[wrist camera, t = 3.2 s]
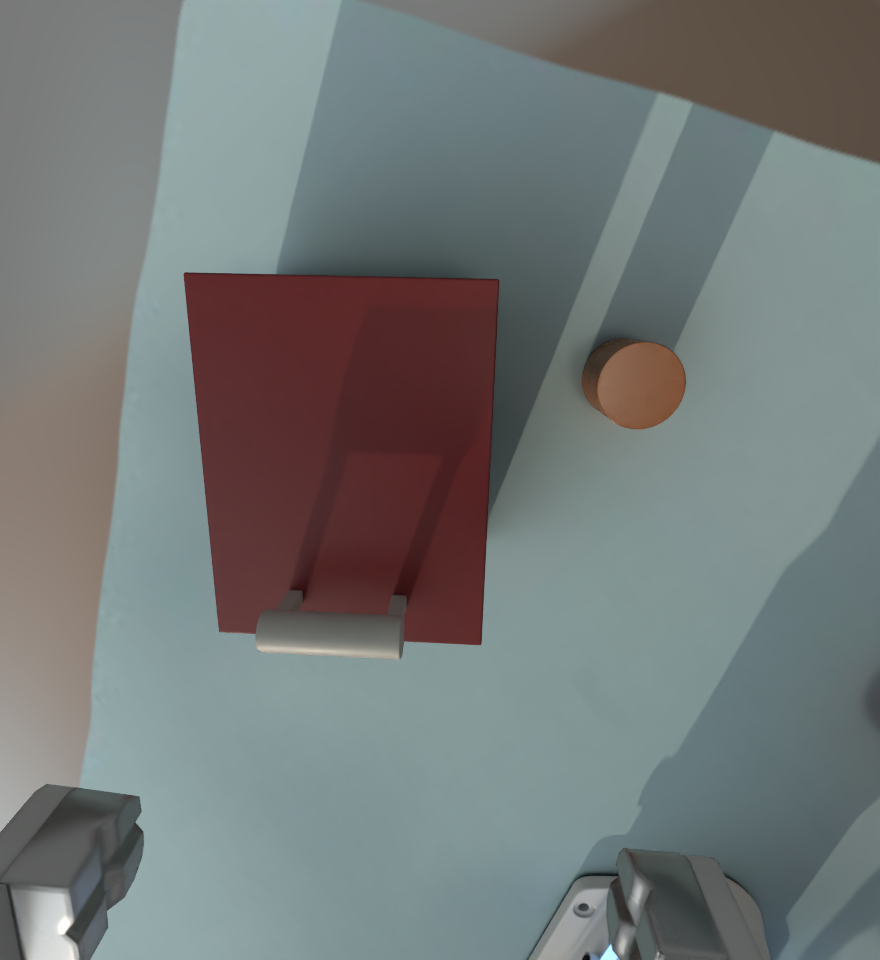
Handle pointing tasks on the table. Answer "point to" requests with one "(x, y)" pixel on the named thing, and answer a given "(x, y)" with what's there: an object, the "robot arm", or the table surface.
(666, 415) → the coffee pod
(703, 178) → the table surface
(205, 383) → the lid
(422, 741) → the table surface
